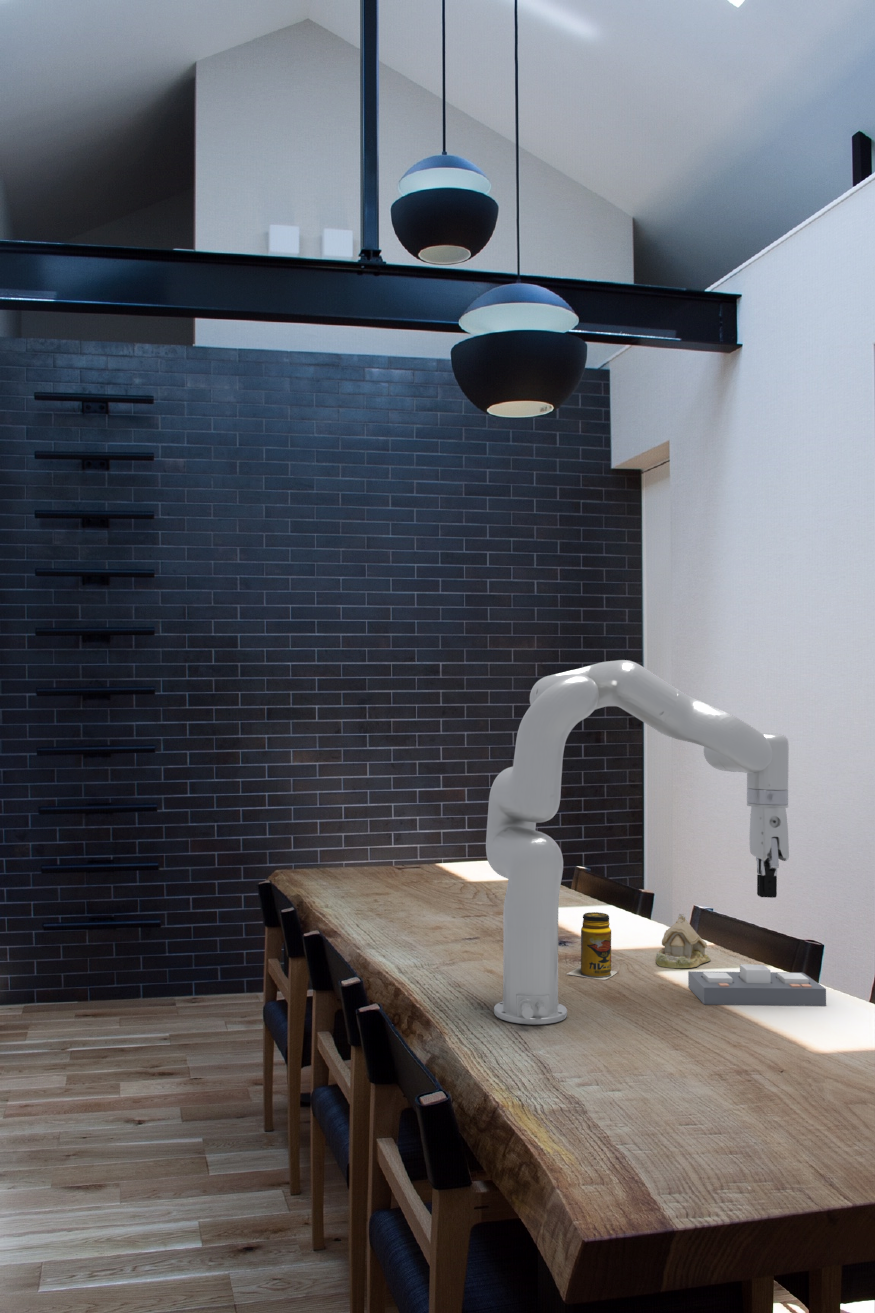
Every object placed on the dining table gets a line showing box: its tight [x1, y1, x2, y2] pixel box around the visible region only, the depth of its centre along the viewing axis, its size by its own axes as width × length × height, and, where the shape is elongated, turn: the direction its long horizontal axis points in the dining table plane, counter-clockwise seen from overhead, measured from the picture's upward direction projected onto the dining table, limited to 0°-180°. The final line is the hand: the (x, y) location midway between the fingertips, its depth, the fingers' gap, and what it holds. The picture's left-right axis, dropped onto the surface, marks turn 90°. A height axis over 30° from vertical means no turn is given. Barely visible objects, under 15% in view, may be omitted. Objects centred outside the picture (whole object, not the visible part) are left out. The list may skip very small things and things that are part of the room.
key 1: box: [777, 972, 809, 984], centre depth 196 cm, size 4×4×4 cm
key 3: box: [702, 971, 733, 983], centre depth 196 cm, size 4×4×4 cm
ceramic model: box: [655, 913, 711, 969], centre depth 224 cm, size 14×11×10 cm
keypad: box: [687, 970, 827, 1007], centre depth 196 cm, size 12×22×3 cm, turn 90°
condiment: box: [566, 911, 618, 981], centre depth 212 cm, size 7×8×12 cm
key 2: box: [739, 963, 772, 983], centre depth 196 cm, size 4×4×4 cm
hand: (766, 896), depth 199 cm, fingers closed
